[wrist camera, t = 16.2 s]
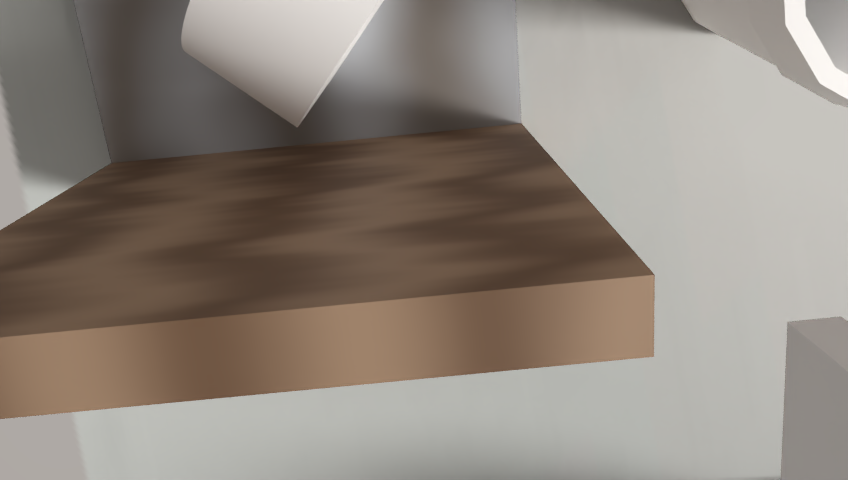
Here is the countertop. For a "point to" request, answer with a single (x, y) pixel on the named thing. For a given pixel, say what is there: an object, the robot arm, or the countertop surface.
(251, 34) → the white curved saddle bracket
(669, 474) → the countertop surface
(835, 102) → the foam cup
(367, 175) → the board
